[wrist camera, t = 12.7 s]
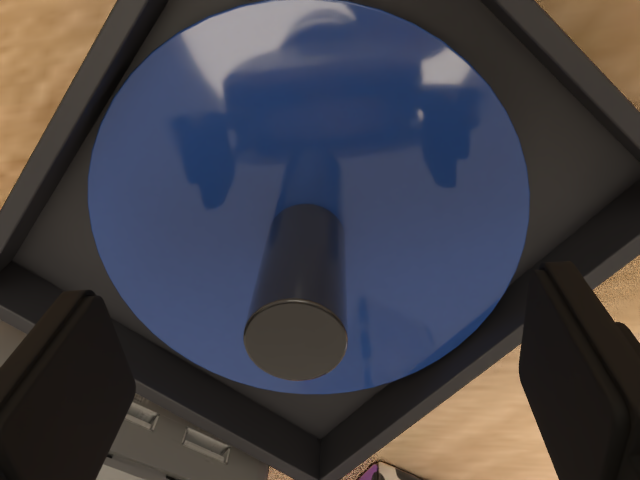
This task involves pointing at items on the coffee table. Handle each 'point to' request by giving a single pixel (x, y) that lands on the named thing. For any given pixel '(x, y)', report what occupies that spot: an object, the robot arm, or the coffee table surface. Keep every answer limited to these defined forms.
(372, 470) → the candy box
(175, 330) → the lid
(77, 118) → the tray
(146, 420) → the electronic device
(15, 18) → the coffee table surface
